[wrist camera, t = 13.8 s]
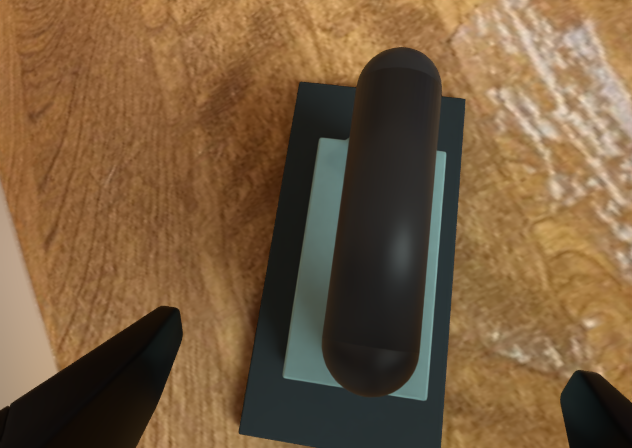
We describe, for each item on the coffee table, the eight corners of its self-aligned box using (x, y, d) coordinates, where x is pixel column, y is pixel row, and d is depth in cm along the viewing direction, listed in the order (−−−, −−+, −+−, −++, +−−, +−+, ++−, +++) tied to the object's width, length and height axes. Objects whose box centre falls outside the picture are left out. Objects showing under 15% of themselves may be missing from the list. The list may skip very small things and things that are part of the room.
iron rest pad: (435, 464, 16) (439, 469, 16) (241, 430, 17) (237, 434, 16) (462, 104, 20) (465, 98, 19) (300, 87, 20) (299, 80, 20)
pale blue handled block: (410, 388, 16) (497, 468, 8) (288, 369, 17) (236, 423, 8) (430, 158, 19) (516, 12, 10) (322, 145, 19) (311, -6, 10)
